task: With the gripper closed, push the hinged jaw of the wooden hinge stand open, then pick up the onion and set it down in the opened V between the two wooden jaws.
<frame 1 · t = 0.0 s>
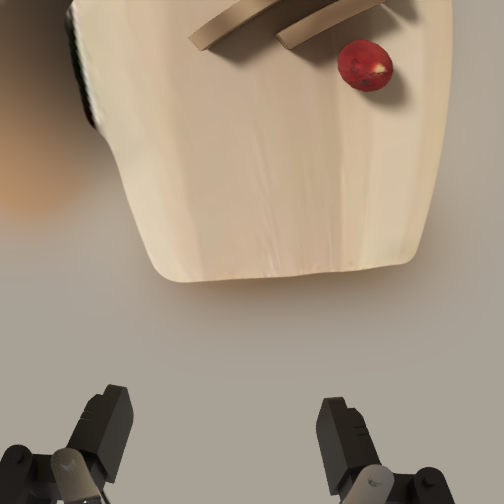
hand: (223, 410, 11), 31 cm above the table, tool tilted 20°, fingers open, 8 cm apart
onion: (353, 62, 29), on the table
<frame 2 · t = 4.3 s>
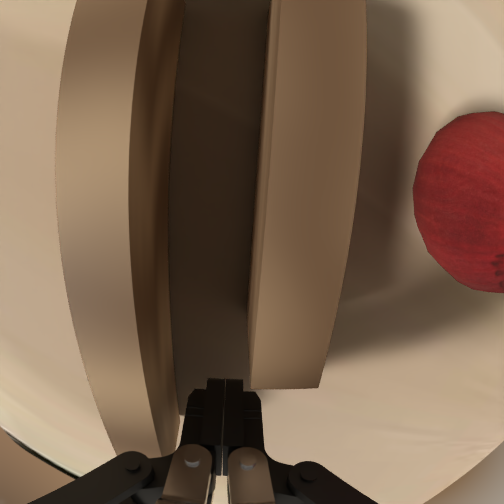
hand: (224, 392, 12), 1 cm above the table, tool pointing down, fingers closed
wooden hinge stand: (227, 6, 9), on the table
onion: (432, 183, 11), on the table
jaw: (117, 266, 8), point 3 cm above the table, hinge at 0.4°, touching gripper
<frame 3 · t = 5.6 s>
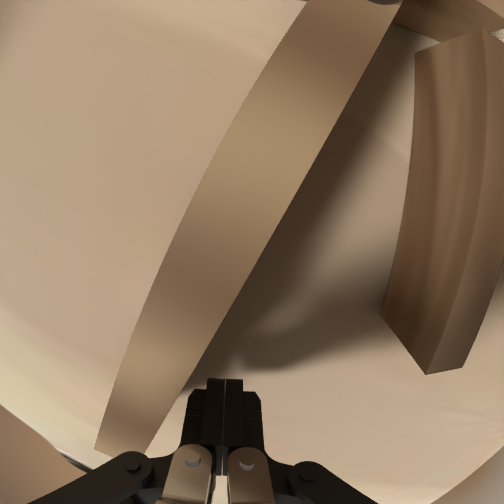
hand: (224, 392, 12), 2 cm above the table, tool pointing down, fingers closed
wooden hinge stand: (384, 43, 9), on the table
jaw: (207, 252, 9), point 3 cm above the table, hinge at 24.3°, touching gripper
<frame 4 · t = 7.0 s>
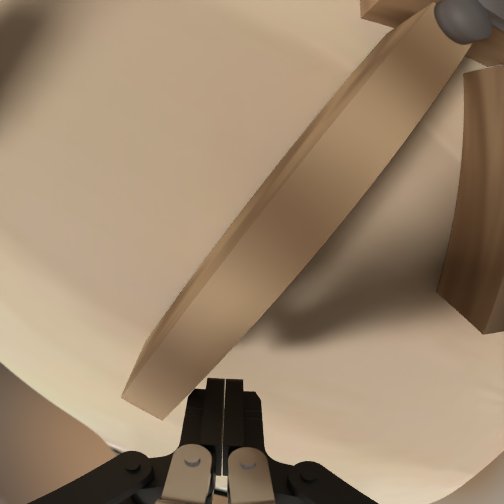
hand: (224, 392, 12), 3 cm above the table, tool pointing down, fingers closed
wooden hinge stand: (442, 64, 11), on the table
jaw: (296, 205, 10), point 3 cm above the table, hinge at 33.8°
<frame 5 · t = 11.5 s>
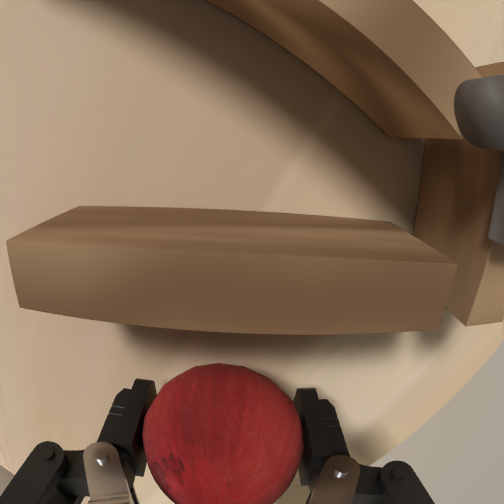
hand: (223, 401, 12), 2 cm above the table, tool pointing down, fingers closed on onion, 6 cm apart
wooden hinge stand: (395, 183, 11), on the table
onion: (226, 373, 13), on the table, touching gripper
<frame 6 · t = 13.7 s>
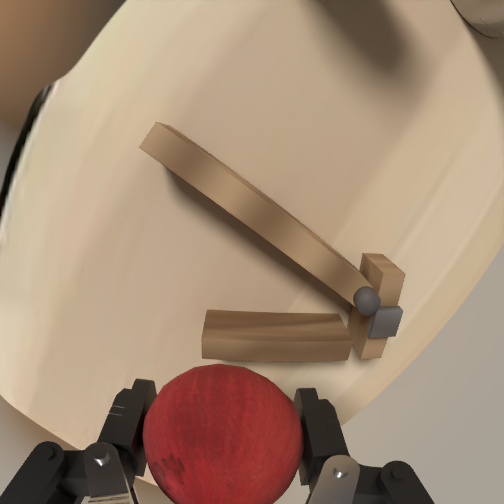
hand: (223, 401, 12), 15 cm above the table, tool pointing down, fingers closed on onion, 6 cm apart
wooden hinge stand: (341, 299, 27), on the table
onion: (226, 374, 13), point 13 cm above the table, touching gripper
jaw: (269, 219, 21), point 3 cm above the table, hinge at 33.9°
when the fingers open (2 cm above the table, at t = 16.0 s): onion stays where it is, on the table.
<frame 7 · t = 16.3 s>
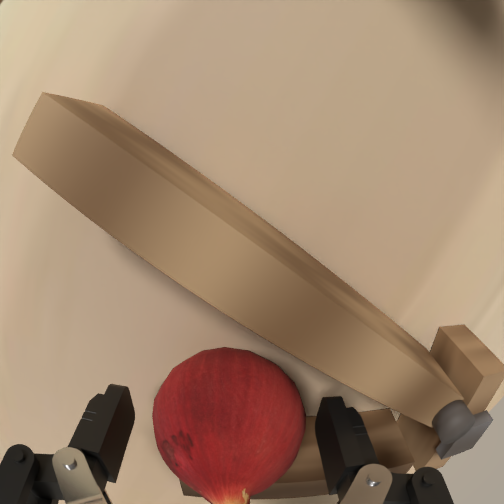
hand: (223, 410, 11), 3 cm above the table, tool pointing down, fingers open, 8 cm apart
wooden hinge stand: (397, 391, 15), on the table
onion: (231, 360, 14), on the table
jaw: (303, 304, 10), point 3 cm above the table, hinge at 33.9°
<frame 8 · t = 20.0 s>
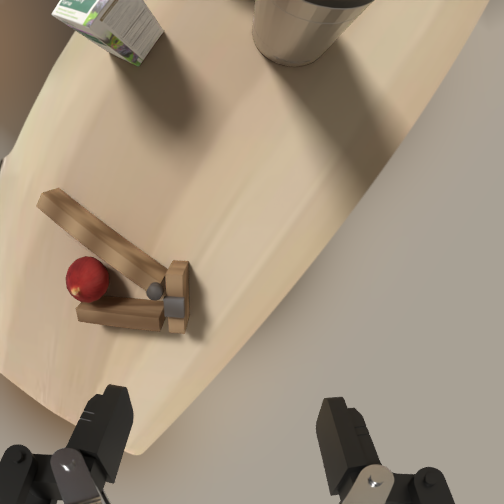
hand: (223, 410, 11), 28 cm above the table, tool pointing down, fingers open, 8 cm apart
wooden hinge stand: (165, 291, 40), on the table
syrup box: (136, 41, 30), on the table
onion: (99, 268, 39), on the table
jaw: (100, 241, 35), point 3 cm above the table, hinge at 33.9°
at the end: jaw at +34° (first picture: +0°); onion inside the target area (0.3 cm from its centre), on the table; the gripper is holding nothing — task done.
